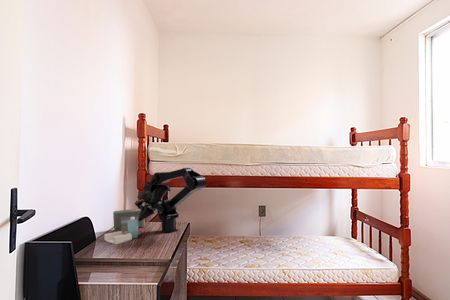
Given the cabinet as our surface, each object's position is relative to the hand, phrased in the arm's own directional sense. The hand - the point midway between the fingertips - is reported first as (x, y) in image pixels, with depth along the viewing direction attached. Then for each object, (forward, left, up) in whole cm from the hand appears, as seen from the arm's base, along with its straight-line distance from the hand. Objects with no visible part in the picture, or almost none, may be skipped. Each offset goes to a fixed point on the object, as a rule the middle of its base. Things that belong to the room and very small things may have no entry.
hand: (138, 220), depth 148 cm
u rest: (+11, -1, -7) cm, 13 cm away
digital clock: (-7, -17, -7) cm, 20 cm away
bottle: (+3, 0, -7) cm, 8 cm away
